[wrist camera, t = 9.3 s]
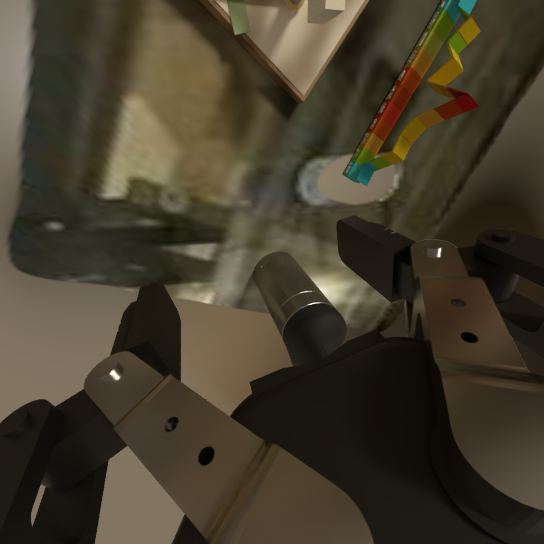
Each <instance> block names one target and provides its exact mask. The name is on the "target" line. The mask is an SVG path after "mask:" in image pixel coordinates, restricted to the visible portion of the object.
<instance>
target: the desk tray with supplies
mask: <svg viewBox="0 0 544 544" xmlns="http://www.w3.org/2000/svg"><path fill="white" fill-rule="evenodd" d="M368 1H369V0H345V11H343V12H342V13H340V14H339V15H337V16H336V17H335V18H333V19H332V20H330V21H329V22H327V23H326V24H313V23H307V16H308V0H305V1H304V4H303V5H302V7H301V8H300V9H298V10H296V11H293V10H290V9H289V8H288V7H287V5H286V3H285V0H199V2H200V3H201V4H202V5H203V6H204V7H205V8H206V9H207V10H208V11H209V12H210V13H211V14H212V15H213V16H214V17H215V18H216V19H217V20H218V21H219V22H220V23H221V24H222V25H223V26H224V28H225V29H226V30H227V31H228V32H229V33H230V34H231V35H232V36H233V37H234V38H235V39H236V40H237V41H238V42H239V43H240V44H241V45H242V46H243V47H244V48H245V49H246V50H247V51H248V53H249V54H250V55H251V56H252V57H253V58H254V59H255V60H256V61H257V62H258V63H259V64H260V65H261V66H262V67H263V68H264V69H265V70H266V71H267V72H268V73H269V74H270V75H271V76H272V77H273V79H274V80H275V81H276V82H277V83H278V84H279V85H280V86H281V87H282V88H283V89H284V90H285V91H286V92H287V93H288V94H289V95H290V96H291V97H292V98H293V99H294V100H295V101H296V102H297V103H300V102H304V101H305V99H306V97H307V96H308V94H309V93H310V91H311V90H312V88H313V87H314V85H315V83H316V82H317V80H318V79H319V77H320V76H321V74H322V73H323V71H324V70H325V68H326V66H327V65H328V63H329V62H330V60H331V59H332V57H333V56H334V54H335V52H336V51H337V49H338V48H339V46H340V45H341V43H342V42H343V40H344V38H345V37H346V35H347V34H348V32H349V31H350V29H351V28H352V26H353V24H354V23H355V21H356V20H357V18H358V17H359V15H360V14H361V12H362V11H363V9H364V7H365V6H366V4H367V3H368Z"/></svg>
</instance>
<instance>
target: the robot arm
mask: <svg viewBox="0 0 544 544" xmlns="http://www.w3.org/2000/svg"><path fill="white" fill-rule="evenodd" d="M337 239H338V251H339V256H340V258H341V260H342V262H343V263H344V264H345V265H346V266H348V267H349V268H350V269H351V270H353V271H354V272H355V273H356V274H357V275H359V276H360V277H361V278H362V279H363V280H365V281H366V282H367V283H368V284H369V285H371V286H372V287H373V288H374V289H375V290H377V291H378V292H379V293H380V294H381V295H383V296H384V297H385V298H386V299H387V300H389V301H390V302H394V301H396V300H399V299H401V298H404V299H405V316H406V326H407V337H408V338H407V337H390V338H384V337H383V336H382V335H381V333H380V332H379V331H378V330H377V329H376V330H373V331H371V332H369V333H366V334H364V335H361V336H359V337H357V338H354V339H352V340H349V341H347V342H346V343H344V344H343V345H342V343H343V341H344V339H345V336H346V331H347V327H346V323H345V320H344V319H343V317H342V316H341V314H340V313H339V312H338V311H337V310H336V309H335V307H334V306H333V305H332V304H331V303H330V301H329V300H328V299H327V298H326V297H325V295H324V294H323V293H322V292H321V291H320V289H319V288H318V287H317V286H316V285H315V283H314V282H313V281H312V280H311V279H310V277H309V276H308V275H307V274H306V273H305V271H304V270H303V269H302V268H301V267H300V265H299V264H298V263H297V262H296V261H295V259H294V258H293V257H292V256H291V255H289V254H287V253H284V252H274V253H271V254H269V255H267V256H265V257H264V258H263V259H261V261H260V262H259V263H258V264H257V266H256V269H255V272H254V278H255V281H256V284H257V286H258V288H259V290H260V293H261V295H262V297H263V299H264V301H265V303H266V305H267V307H268V310H269V312H270V314H271V316H272V318H273V320H274V322H275V324H276V326H277V328H278V330H279V333H280V335H281V337H282V339H283V341H284V343H285V345H286V347H287V350H288V353H289V356H290V359H291V362H292V364H293V367H288V368H282V369H280V370H278V371H275V372H273V373H270V374H268V375H266V376H263V377H261V378H258V379H256V380H254V381H251V382H250V386H251V389H252V394H251V395H250V396H248V397H247V398H246V399H245V400H244V401H243V402H242V403H240V404H239V406H238V407H237V408H236V409H235V410H234V411H233V413H232V414H231V415H230V416H228V415H227V414H225V413H224V412H223V411H221V410H220V409H218V408H217V407H215V406H214V405H213V404H211V403H210V402H208V401H207V400H206V399H204V398H203V397H201V396H200V395H199V394H197V393H196V392H194V391H193V390H191V389H190V388H189V387H187V386H186V385H185V384H183V383H182V382H181V320H180V316H179V313H178V311H177V308H176V307H175V305H174V303H173V301H172V299H171V298H170V296H169V294H168V292H167V290H166V288H165V287H164V285H163V283H162V282H161V281H157V282H154V283H151V284H148V285H145V286H142V287H140V290H139V294H138V298H137V301H135V302H132V303H131V304H130V305H129V306H128V308H127V309H126V310H125V311H124V313H123V316H122V319H121V324H120V325H119V329H118V330H119V331H118V332H117V335H116V338H115V341H114V345H113V348H112V351H111V354H110V356H109V357H107V358H105V359H104V360H102V361H101V362H100V363H99V364H97V365H96V366H95V367H94V368H93V369H92V370H91V372H90V373H89V374H88V376H87V378H86V379H85V382H84V389H83V390H81V391H80V392H78V393H77V394H75V395H73V396H72V397H70V398H69V399H67V400H65V401H64V402H62V403H60V404H59V405H57V406H54V405H52V404H51V403H50V402H49V401H47V400H44V399H39V400H35V401H32V402H30V403H28V404H25V405H24V406H22V407H20V408H19V409H17V410H16V411H14V412H13V413H11V414H10V415H9V416H8V417H6V418H5V419H4V420H3V421H2V422H1V423H0V544H95V538H96V532H97V526H98V520H99V514H100V508H101V502H102V496H103V490H104V484H105V478H106V472H107V466H108V460H109V459H110V458H112V457H113V456H114V455H115V454H117V453H118V452H120V451H121V450H122V449H124V448H125V447H126V446H128V447H129V448H130V449H131V450H132V451H133V453H134V454H135V455H136V456H137V457H138V458H139V460H140V461H141V462H142V463H143V464H144V466H145V467H146V468H147V469H148V471H149V472H150V473H151V474H152V475H153V476H154V478H155V479H156V480H157V481H158V482H159V484H160V485H161V486H162V487H163V488H164V490H165V491H166V492H167V493H168V494H169V496H170V497H171V498H172V499H173V500H174V501H175V503H176V504H177V505H178V506H179V507H180V509H181V510H182V511H183V512H184V513H185V515H184V517H183V519H182V521H181V524H180V526H179V528H178V531H177V533H176V535H175V538H174V540H173V542H172V544H544V376H540V375H537V374H534V373H530V372H529V371H528V369H527V368H526V366H525V364H524V362H523V360H522V358H521V356H520V354H519V351H518V349H517V348H516V345H515V343H514V341H513V339H512V337H514V338H515V339H517V340H518V341H520V342H521V343H523V344H524V345H525V346H527V347H528V348H530V349H531V350H533V351H534V352H536V353H537V354H539V355H540V356H542V357H543V358H544V307H543V306H541V305H539V304H537V303H535V302H533V301H532V300H530V299H528V298H526V297H524V296H522V295H520V294H518V293H516V292H515V291H513V290H514V287H515V285H516V282H517V280H518V277H519V275H520V276H522V277H524V278H526V279H528V280H530V281H533V282H535V283H537V284H539V285H541V286H543V287H544V240H543V239H540V238H537V237H534V236H531V235H528V234H525V233H522V232H519V231H515V230H509V229H490V230H485V231H482V232H480V233H479V234H478V236H477V240H476V244H475V246H468V247H461V248H456V247H455V246H454V245H453V244H451V243H449V242H446V241H442V240H434V239H429V240H421V241H418V242H415V241H413V240H411V239H409V238H407V237H405V236H403V235H401V234H399V233H397V232H396V233H395V232H394V231H393V230H391V229H388V228H386V227H384V226H382V225H380V224H377V223H372V222H367V221H365V220H363V219H361V218H359V217H357V216H350V217H347V218H345V219H342V220H339V221H338V222H337ZM511 336H512V337H511ZM341 345H342V346H341ZM41 484H42V485H44V486H45V487H46V488H45V491H44V494H43V497H42V500H41V503H40V506H39V509H38V512H37V515H36V518H35V521H34V524H33V527H32V524H31V512H32V508H33V505H34V502H35V499H36V496H37V493H38V490H39V488H40V485H41Z"/></svg>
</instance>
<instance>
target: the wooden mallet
mask: <svg viewBox="0 0 544 544" xmlns="http://www.w3.org/2000/svg"><path fill="white" fill-rule="evenodd" d="M304 1H305V0H285V3H286V5H287V7H288V8H289V9H290V10H293V11H296V10H298V9H300V8H301V7H302V5H303V4H304ZM343 11H345V0H308V16H307V23H313V24H326V23H327V22H329V21H330V20H332V19H333V18H335V17H336V16H337V15H339V14H340V13H342V12H343Z"/></svg>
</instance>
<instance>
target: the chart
mask: <svg viewBox="0 0 544 544" xmlns="http://www.w3.org/2000/svg"><path fill="white" fill-rule="evenodd" d="M475 2H476V0H442V1H441V3H440V5H439V7H438V8H437V10H436V12H435V14H434V15H433V17H432V19H431V21H430V22H429V24H428V26H427V28H426V29H425V31H424V33H423V35H422V36H421V38H420V40H419V42H418V43H417V45H416V47H415V49H414V50H413V51H412V54H411V56H410V57H409V59H408V61H407V63H406V64H405V66H404V68H403V70H402V71H401V73H400V75H399V76H398V78H397V80H396V82H395V83H394V85H393V87H392V89H391V90H390V92H389V94H388V96H387V97H386V99H385V101H384V103H383V104H382V106H381V108H380V110H379V111H378V113H377V115H376V117H375V118H374V120H373V122H372V124H371V125H370V127H369V129H368V131H367V132H366V133H365V136H364V138H363V139H362V141H361V143H360V145H359V146H358V148H357V149H356V152H355V153H354V154H353V156H352V157H351V159H350V161H349V163H348V165H347V166H346V168H345V170H344V172H343V173H342V174H343V175H344V176H346V177H348V178H349V179H350V180H352V181H354V182H357V183H360V182H361V183H363V184H364V185H366V186H367V185H368V183H369V181H370V179H371V177H372V175H373V173H374V171H376V170H379V169H382V168H384V167H387V166H390V165H393V164H395V163H398V162H401V161H402V160H404V159H405V156H406V154H407V152H408V150H409V148H410V146H411V144H412V143H413V142H414V141H415V140H416V139H417V138H418V137H419V136H420V134H421V133H422V132H423V131H424V130H425V129H426V128H427V127H429V126H431V125H434V124H436V123H439V122H441V121H444V120H446V119H449V118H451V117H454V116H456V115H459V114H461V113H464V112H467V111H469V110H472V109H474V108H477V107H478V105H477V104H476V102H475V101H474V100H473V99H472V97H471V96H470V95H469V94H468V93H465V92H462V91H459V90H455V89H452V88H449V87H446V85H447V84H448V83H449V82H450V81H452V80H453V79H454V78H455V77H456V76H458V75H459V74H460V73H461V72H462V71H463V67H462V64H461V62H460V59H459V56H458V54H459V53H460V52H461V51H462V50H463V49H464V48H465V47H466V46H467V45H468V44H469V43H470V42H471V41H472V40H473V39H474V38H475V37H476V36H477V35H478V34H479V33H480V32H481V30H480V29H479V27H478V26H477V24H476V22H475V21H474V19H473V18H472V16H471V15H470V13H471V10H472V8H473V6H474V4H475ZM460 14H461V15H462V17H463V18H464V20H465V22H464V24H463V25H462V26H461V27H460V28H459V29H458V30H457V31H456V32H455V33H454V34H453V35H452V36H451V38H450V39H449V40H448V41H447V42H446V43H447V46H448V49H449V52H450V55H451V59H450V60H449V61H448V62H447V63H446V64H444V65H443V66H442V67H441V68H440V69H439V70H438V71H437V72H435V73H434V74H433V75H432V76H431V77H430V78H429V79H428V80H427V81H426V82H427V83H428V84H429V85H430V86H431V88H432V89H433V90H434V91H435V92H436V93H439V94H442V95H445V96H448V97H450V98H453V99H454V100H452V101H450V102H448V103H445V104H443V105H441V106H439V107H436V108H434V109H432V110H430V111H428V112H425V113H423V114H421V115H419V116H416V117H415V118H414V119H413V120H412V121H411V122H410V123H409V124H408V126H407V127H406V128H405V129H404V130H403V131H402V133H401V134H400V135H399V137H398V139H397V141H396V143H395V145H394V147H393V149H392V151H391V152H389V153H387V154H385V155H382V156H381V157H378V158H375V159H374V157H375V156H376V154H377V152H378V151H379V149H380V147H381V146H382V144H383V142H384V141H385V139H386V137H387V136H388V134H389V132H390V131H391V129H392V127H393V126H394V124H395V122H396V121H397V119H398V117H399V116H400V114H401V112H402V111H403V109H404V107H405V106H406V104H407V102H408V101H409V99H410V97H411V96H412V94H413V92H414V91H415V89H416V87H417V86H418V84H419V82H420V81H421V79H422V77H423V76H424V74H425V72H426V71H427V69H428V67H429V66H430V64H431V62H432V61H433V59H434V57H435V56H436V54H437V52H438V51H439V49H440V47H441V46H442V44H443V42H444V41H445V39H446V37H447V36H448V34H449V32H450V31H451V29H452V27H453V26H454V24H455V22H456V21H457V19H458V17H459V16H460Z"/></svg>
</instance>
